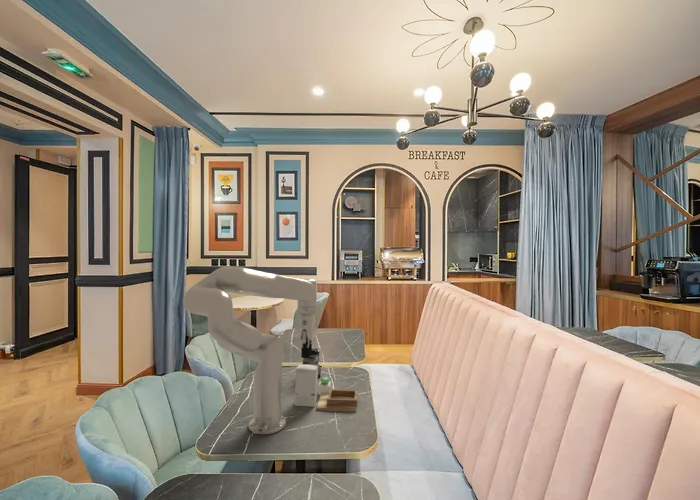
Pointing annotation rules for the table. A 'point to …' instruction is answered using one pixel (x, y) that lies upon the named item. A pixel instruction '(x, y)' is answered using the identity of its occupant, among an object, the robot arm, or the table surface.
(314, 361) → the figurine
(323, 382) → the button
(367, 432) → the table surface
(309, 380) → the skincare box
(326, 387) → the console
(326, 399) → the wooden display tray
